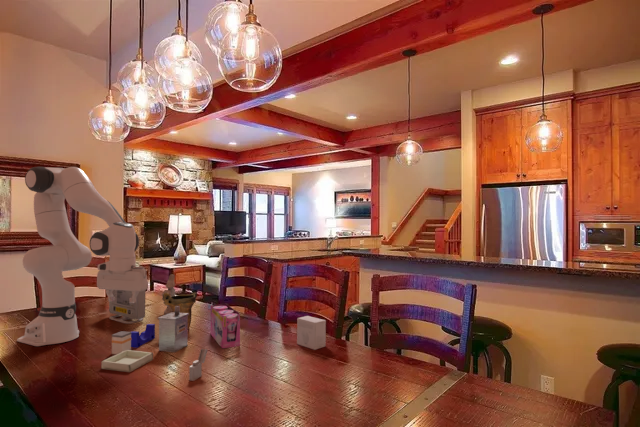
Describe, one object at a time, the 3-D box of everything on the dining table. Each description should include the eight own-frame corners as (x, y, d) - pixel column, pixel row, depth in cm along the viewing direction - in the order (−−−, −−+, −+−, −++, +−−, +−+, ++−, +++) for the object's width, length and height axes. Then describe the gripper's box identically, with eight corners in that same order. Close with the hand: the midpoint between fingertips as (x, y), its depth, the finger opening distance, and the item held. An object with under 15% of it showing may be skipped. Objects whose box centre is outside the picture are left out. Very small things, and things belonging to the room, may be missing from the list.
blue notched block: (145, 337, 158) (145, 323, 158) (154, 338, 157) (154, 324, 157) (126, 347, 146) (126, 332, 146) (136, 348, 145) (136, 332, 145)
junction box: (157, 350, 142) (157, 309, 142) (171, 343, 150) (172, 304, 150) (175, 352, 140) (175, 311, 140) (188, 345, 148) (189, 305, 148)
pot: (169, 337, 157) (170, 295, 158) (155, 332, 164) (156, 291, 164) (204, 328, 171) (204, 288, 171) (190, 323, 178) (190, 286, 178)
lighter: (193, 381, 115) (193, 355, 115) (189, 380, 116) (189, 354, 116) (207, 372, 122) (207, 347, 122) (202, 371, 123) (203, 347, 123)
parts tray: (101, 368, 125) (101, 361, 125) (126, 356, 135) (126, 349, 136) (129, 372, 122) (129, 364, 122) (152, 359, 133) (153, 352, 133)
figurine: (173, 309, 206) (173, 273, 206) (183, 311, 201) (183, 274, 202) (159, 313, 198) (159, 275, 198) (169, 315, 194) (169, 276, 194)
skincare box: (326, 346, 147) (326, 319, 148) (315, 350, 143) (315, 323, 143) (307, 340, 155) (307, 314, 155) (296, 344, 150) (296, 317, 150)
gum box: (241, 346, 146) (241, 314, 147) (222, 350, 143) (223, 317, 143) (226, 331, 166) (226, 303, 166) (209, 334, 162) (210, 305, 163)
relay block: (111, 354, 138) (111, 334, 138) (121, 349, 143) (121, 331, 143) (121, 355, 137) (122, 335, 137) (131, 350, 142) (131, 332, 142)
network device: (149, 320, 183) (149, 280, 183) (132, 325, 176) (132, 282, 176) (120, 313, 197) (120, 275, 197) (103, 317, 189) (104, 278, 190)
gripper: (151, 265, 141) (151, 301, 141) (107, 263, 146) (106, 298, 146) (139, 267, 135) (139, 305, 135) (93, 265, 140) (93, 302, 140)
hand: (122, 301), depth 141 cm, fingers open, 8 cm apart
